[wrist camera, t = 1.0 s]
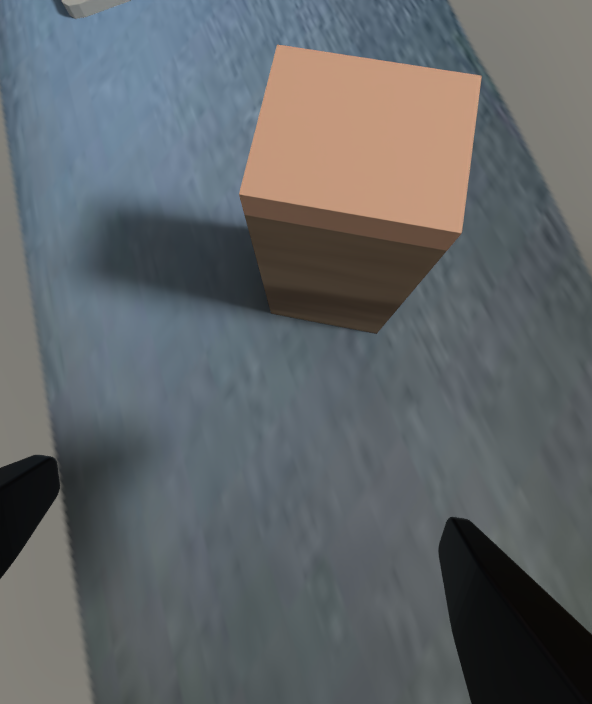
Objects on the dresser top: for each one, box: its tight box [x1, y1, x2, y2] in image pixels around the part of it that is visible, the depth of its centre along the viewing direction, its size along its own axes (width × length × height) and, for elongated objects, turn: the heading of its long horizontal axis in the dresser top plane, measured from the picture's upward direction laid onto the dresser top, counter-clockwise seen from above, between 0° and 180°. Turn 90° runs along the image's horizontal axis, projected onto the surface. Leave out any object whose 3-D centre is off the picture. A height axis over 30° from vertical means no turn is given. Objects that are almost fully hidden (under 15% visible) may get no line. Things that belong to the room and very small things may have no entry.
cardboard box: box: [239, 45, 481, 334], centre depth 16 cm, size 5×6×11 cm
